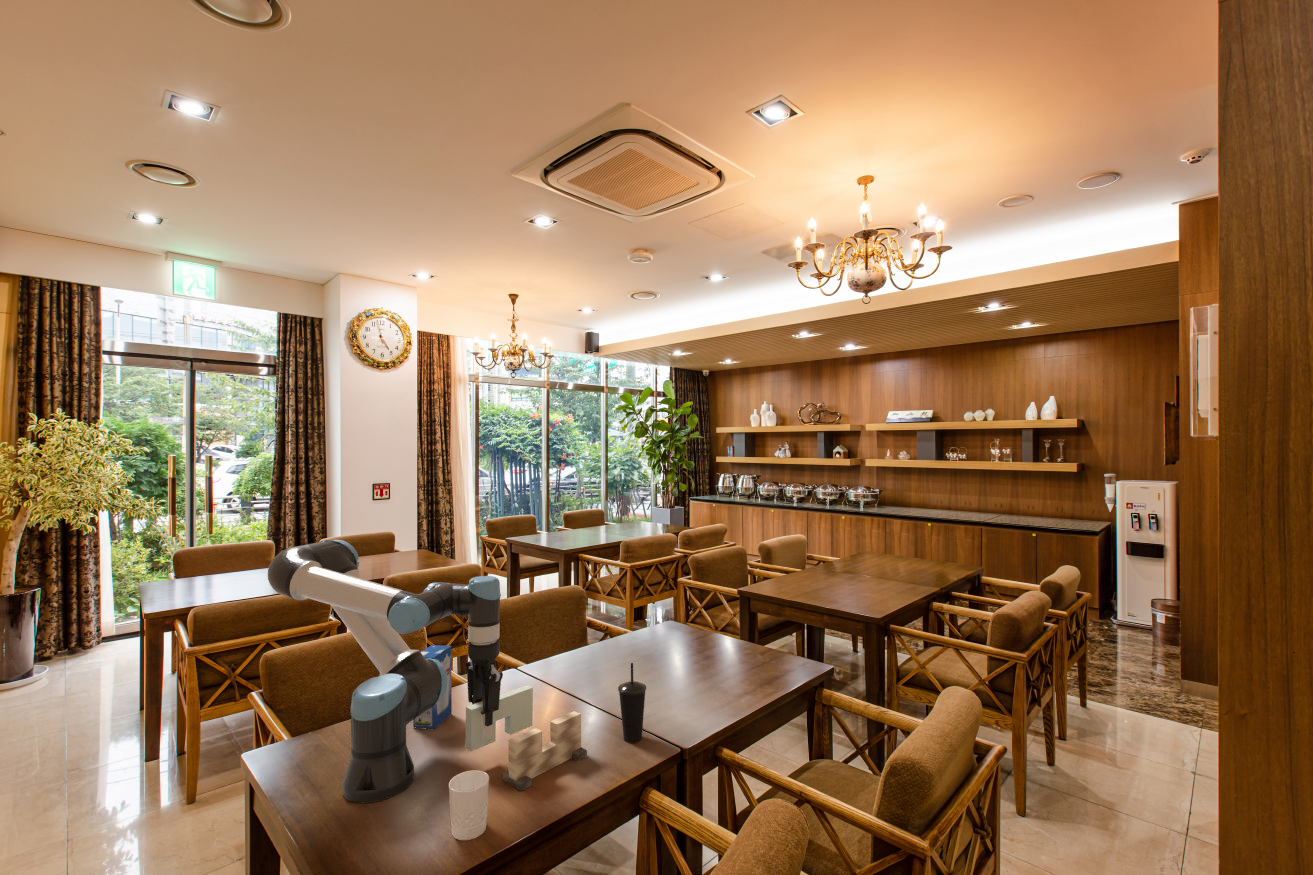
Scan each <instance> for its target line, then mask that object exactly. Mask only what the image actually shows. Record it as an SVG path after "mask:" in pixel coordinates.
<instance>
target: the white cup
mask: <svg viewBox="0 0 1313 875" xmlns="http://www.w3.org/2000/svg"><path fill="white" fill-rule="evenodd" d="M489 786H490V775H489V774H488V773H487V772H486V771H483V770H475V769H474V770H467V771H463V772H460V773H458V774H456V775H455V776H453V777H451V779H450V781H449V782H448V796H449V798H448V799H449V811H450V813H449V814H450V815H449V816H450V822H451V823H450V824H451V835H452V836H453V838H454V839H455V840H459V841H470V840H474V839H477V838H478V837H480V836H481V835H483V833H484V832H485V831H486V829H487V817H488V811H489V810H488V809H489V808H488V807H489V793H490V792H489V790H490V787H489Z"/></svg>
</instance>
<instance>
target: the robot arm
mask: <svg viewBox="0 0 1313 875" xmlns="http://www.w3.org/2000/svg"><path fill="white" fill-rule="evenodd" d="M358 560H359V554H358V552H357V550H356V549H355V547H354V546H353V545H352V544H351V543H349V542H347V541H345V540H341V539H326V540H322V541H318V542H314V543H308V544H304V545H303V544H302V545H298V546H292V547H288V548H286V549H284V550H282V551H281V552H279V553H277V554H276V555H275V556H274V558H273V559H272V560H271V562H270V564H269V566H268V568H267V580H268V583H269V585H270V587H271V588H272V589H273V590H274V591H275V592H276V593H278V594H279V595H282V596H284V597H286V598H289V599H291V600H292V599H293V600H295V601H305V600H308V599H309V600H313V601H317V602H320V603H323V604H327V605H330V606H331V608H332V609H333V611H334V612H335V613H336V614H337V616H338V617H339V618H340V620H341V621H342V622H343V624H344V625H345V627H346V628H347V630H348V631H349V632H350V634H351V635H352V637H353V638H354V639H355V640H356V642H357V643H358V644H359V646H360V647H361V649H362V650H363V651H364V653H365V655H367V657H368V658H369V660H370V661H371V662H372V664H373V665H374V666H375V668H376V669H377V671H378V672H379V675H378V676H372V677H371V678H368V679H366V680H364V681H363V682H361V683H359V685H358V686H357V687H356V688H355V689H354V690H353V692H352V695H351V705H350V742H351V743H350V744H351V746H350V747H351V748H350V750H351V756H350V760H349V761H348V762H349V763H348V764H347V768H346V771H345V774H344V778H343V782H342V796H343V795H344V796H343V797H344V799H346V798H347V799H348V800H347V799H346V800H347V801H349V800H350V801H349V802H352V801H354V802H353V803H357V802H364V804H367V802H368V803H374V802H379V801H383V800H386V799H389V798H392V797H394V796H397V795H398V794H400V793H402V792H403V791H405V790H406V789H408V788H409V787H410V785H411V784H413V782H414V780H415V766H414V765H415V764H414V762H413V759H412V757H411V754H410V751H409V748H408V745H407V725H408V724H410V723H411V722H412V721H413V720H414V719H415V718H417V717H418V716H419V715H421V714H422V713H424V712H425V711H427V710H429V709H431V708H432V707H433V706H434V705H435V704H436V703H437V702H439V701H440V700H441V699H442V697H443V696H444V694H445V692H446V689H447V682H448V679H447V673H446V670H445V668H444V666H443V665H442V664H441V663H440V662H439V661H438V660H436V659H432V658H426V659H425V657H424V656H423V655H422V653H421V652H422V651H420V650H419V649H411V648H410V647H409V646H408V644H407V643H406V642H405V640H404V639H403V637H402V636H401V635H407V634H410V633H414V632H417V631H420V630H422V629H423V628H424V627H427V626H429V625H431V624H433V623H435V622H437V621H439V620H441V619H443V618H445V617H448V616H451V615H453V616H454V615H455V616H468V617H467V618H468V626H467V627H468V630H467V639H468V643H467V645H468V646H467V657H468V659H470V660H469V661H466V662H465V664H464V665H465V669H466V676H467V699H468V703H471V705H473V704H475V703H478V702H481V701H483V711H481V740H484V739H487V738H489V737H492V724H493V712H494V711H497V710H498V709H499V699H500V695H501V685H502V684H501V683H502V680H503V674H504V673H503V672H502V671H498V670H497V664H496V658H498V656H499V655H500V645H501V644H500V642H501V641H500V640H499V638H500V627H501V626H500V625H501V624H500V622H501V620H500V615H501V614H500V613H501V612H500V610H501V608H500V607H501V606H500V605H501V596H502V594H501V586H500V585H501V582H500V579H499V578H498V577H496V576H492V575H486V576H485V575H480V576H474V577H472V578H470V579H469V581H468V584H466V583H465V584H462V583H452V582H445V581H440V582H432V583H429V584H428V585H427V586H426V588H424V590H423V592H421V593H413V592H410V591H407V590H402V589H399V588H395V587H394V586H389V585H384V584H381V583H377V582H376V581H375V582H374V581H371V580H367V579H364V578H360V576H361V575H360V574H361V571H360V569H359V566H360V561H358ZM400 634H401V635H400ZM413 779H414V780H413Z"/></svg>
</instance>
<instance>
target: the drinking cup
mask: <svg viewBox="0 0 1313 875" xmlns="http://www.w3.org/2000/svg"><path fill="white" fill-rule="evenodd" d="M617 691H618V694H619V702H620V703H619V705H620V713H621V724H622V726H621V727H622V734H623V740H624V742H626V743H629V744H636V743H638V742H641V741H642V739H643V729H644V728H643V726H644V712H645V700H646V691H647V685H646V684H644V683H643V682H639V681H634V662H631V663H630V681H629V680H628V681H626V682H623V683H621V684H619V685H618V687H617Z"/></svg>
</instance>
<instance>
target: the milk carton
mask: <svg viewBox="0 0 1313 875" xmlns="http://www.w3.org/2000/svg"><path fill="white" fill-rule="evenodd" d="M420 652H421V653H422V655H423V656H424V657H425V659H426V658H432V659H436V660H438V661H439V662H440V663H441V664H442V665H443V666H444V668H445V670H446V673H447V679H448V682H447V689H446V692H445V694H444V696H443V697H442V699H441V700H440V701H439V702H437V703H436V704H435V705H434V706H433V707H432V708H431V709H429V710H427V711H425V712H424V713H422V714H421V715H419V716H418V717H417V718H415V719H414V720H412V721H413V722H412V723H413V724H412V725H413V726H412V727H416V728H426V729H425V730H430V729H434V730H435V729H436V728H438V727H439V726H440V725H441V724H442V723H443V722H444V721H445V720H447V719H448V718H449V717H450V716H451V715H452V712H453V711H452V709H453V708H452V703H453V702H452V695H453V694H452V692H453V691H452V645H439V644H437V645H436V644H431V645H430V646H428V647H426V648H425V649H423V650H421V651H420ZM448 716H449V717H448ZM447 717H448V718H447ZM446 718H447V719H446ZM440 723H441V724H440ZM439 724H440V725H439ZM438 725H439V726H438ZM437 726H438V727H437ZM416 728H415V729H416Z"/></svg>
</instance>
